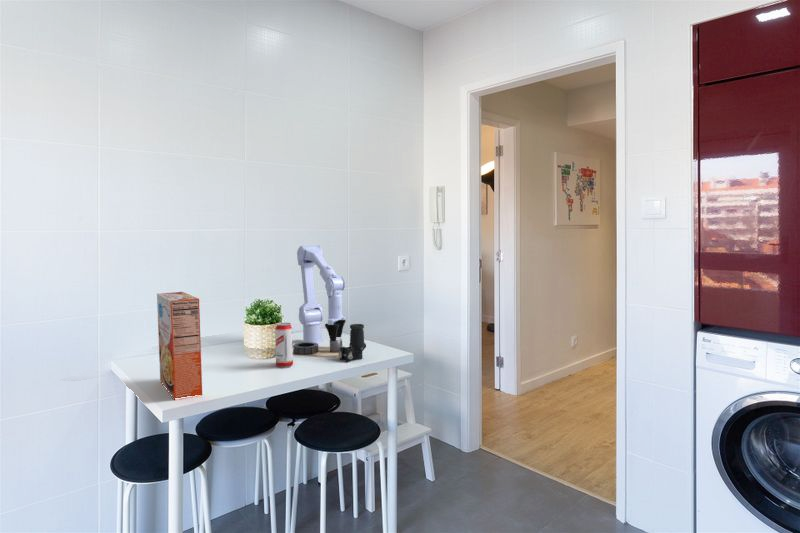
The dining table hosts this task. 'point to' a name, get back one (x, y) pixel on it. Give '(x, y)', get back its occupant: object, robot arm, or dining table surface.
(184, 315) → the cereal box
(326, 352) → the tan wooden board
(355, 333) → the scope
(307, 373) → the dining table surface
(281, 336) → the beer can
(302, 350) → the segmented dark ring
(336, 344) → the grey domed cylinder
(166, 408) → the dining table surface
